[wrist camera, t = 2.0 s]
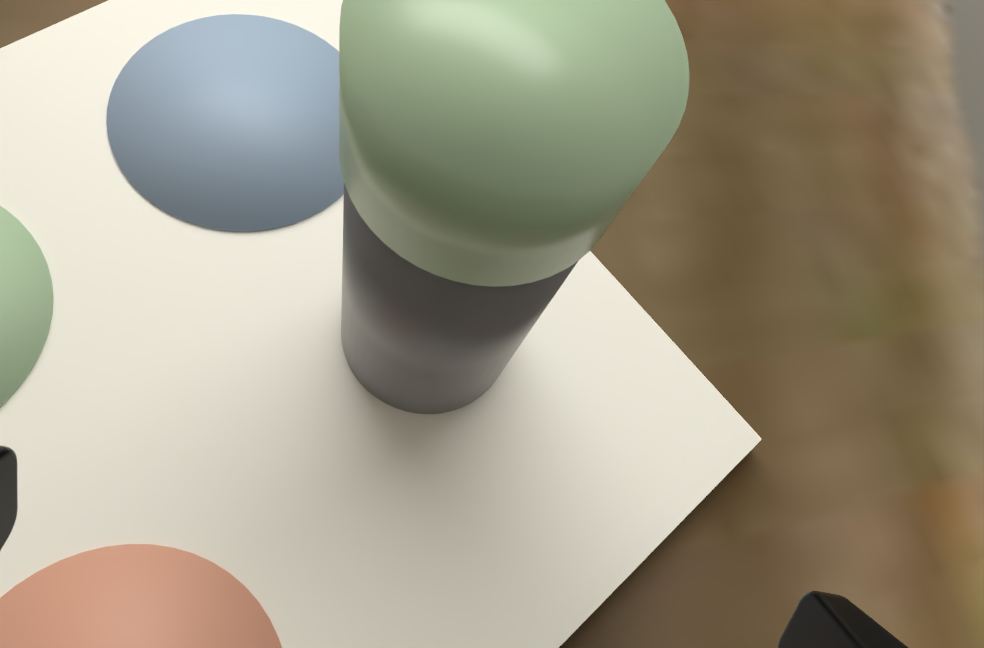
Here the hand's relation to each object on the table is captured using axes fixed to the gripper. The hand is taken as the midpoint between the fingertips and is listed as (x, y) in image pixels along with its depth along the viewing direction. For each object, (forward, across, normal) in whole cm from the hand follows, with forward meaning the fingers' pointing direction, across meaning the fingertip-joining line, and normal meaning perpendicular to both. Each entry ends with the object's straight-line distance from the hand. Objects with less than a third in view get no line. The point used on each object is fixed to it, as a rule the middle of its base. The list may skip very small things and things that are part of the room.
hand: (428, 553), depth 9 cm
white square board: (+12, +6, +6) cm, 15 cm away
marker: (+14, 0, +4) cm, 14 cm away
